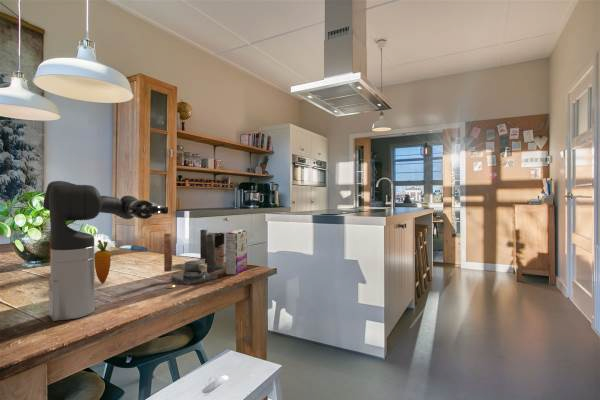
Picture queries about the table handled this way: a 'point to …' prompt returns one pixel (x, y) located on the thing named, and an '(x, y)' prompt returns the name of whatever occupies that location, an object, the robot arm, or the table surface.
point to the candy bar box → (236, 251)
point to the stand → (192, 277)
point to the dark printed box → (219, 248)
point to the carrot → (102, 262)
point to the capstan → (200, 265)
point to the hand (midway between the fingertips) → (157, 211)
